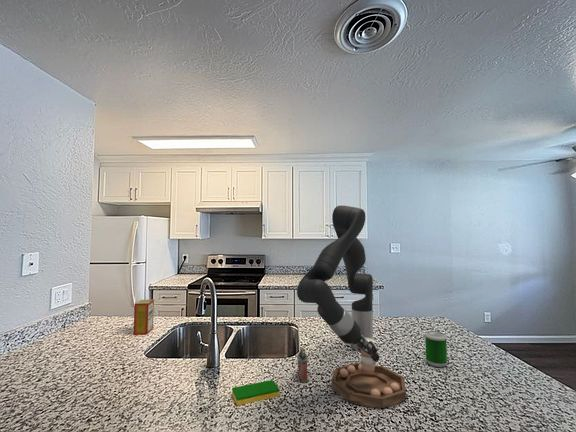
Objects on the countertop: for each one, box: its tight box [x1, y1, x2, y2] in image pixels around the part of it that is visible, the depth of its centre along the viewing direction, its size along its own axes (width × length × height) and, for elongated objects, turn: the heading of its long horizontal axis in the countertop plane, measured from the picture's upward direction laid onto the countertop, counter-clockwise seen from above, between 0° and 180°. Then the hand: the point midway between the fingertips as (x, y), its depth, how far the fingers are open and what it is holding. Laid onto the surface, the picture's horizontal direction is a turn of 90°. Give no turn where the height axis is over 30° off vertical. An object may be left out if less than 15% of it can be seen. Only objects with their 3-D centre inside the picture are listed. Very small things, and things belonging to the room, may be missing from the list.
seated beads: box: [340, 364, 400, 397], centre depth 100 cm, size 20×11×3 cm, turn 27°
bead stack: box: [360, 338, 376, 373], centre depth 101 cm, size 4×4×10 cm
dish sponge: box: [231, 379, 281, 406], centre depth 96 cm, size 7×14×2 cm, turn 113°
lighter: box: [297, 346, 309, 385], centre depth 107 cm, size 8×3×10 cm, turn 5°
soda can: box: [424, 330, 448, 368], centre depth 119 cm, size 8×8×12 cm
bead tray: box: [331, 362, 407, 409], centre depth 100 cm, size 23×23×3 cm
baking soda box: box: [132, 299, 155, 336], centre depth 157 cm, size 10×6×16 cm
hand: (372, 356), depth 101 cm, fingers closed on bead stack, 4 cm apart
